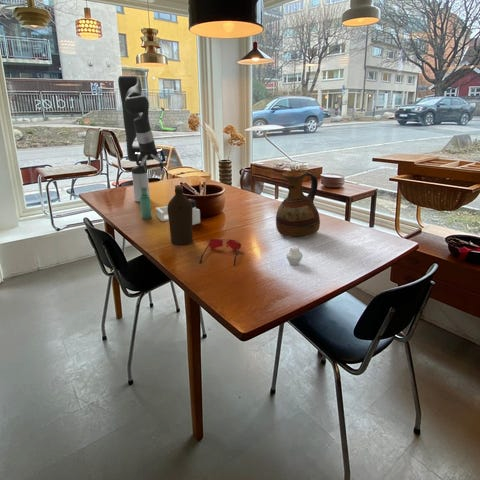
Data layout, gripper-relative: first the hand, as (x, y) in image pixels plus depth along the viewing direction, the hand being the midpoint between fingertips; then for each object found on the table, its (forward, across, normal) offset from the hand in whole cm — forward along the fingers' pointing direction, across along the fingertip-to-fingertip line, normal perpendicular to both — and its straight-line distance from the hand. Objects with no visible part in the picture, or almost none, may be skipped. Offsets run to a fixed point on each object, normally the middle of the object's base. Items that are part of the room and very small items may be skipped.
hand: (153, 170), depth 186 cm
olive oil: (+16, -10, +42) cm, 46 cm away
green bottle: (+24, +9, +5) cm, 26 cm away
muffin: (+13, -52, +72) cm, 90 cm away
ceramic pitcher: (+23, -63, +42) cm, 79 cm away
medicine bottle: (+24, -14, +17) cm, 33 cm away
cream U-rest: (+26, -3, +5) cm, 26 cm away
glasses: (+14, -26, +61) cm, 67 cm away
